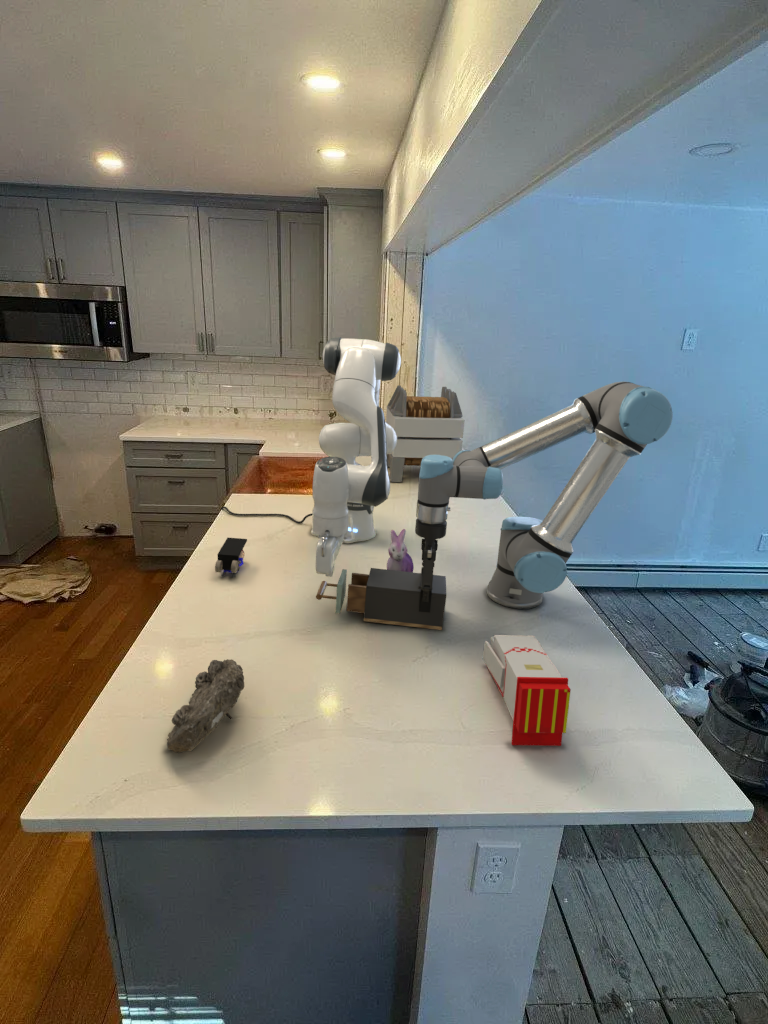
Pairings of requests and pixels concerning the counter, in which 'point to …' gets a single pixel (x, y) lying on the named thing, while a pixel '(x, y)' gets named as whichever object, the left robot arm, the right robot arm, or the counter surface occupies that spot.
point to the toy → (529, 689)
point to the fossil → (206, 705)
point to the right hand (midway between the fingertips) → (424, 600)
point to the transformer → (423, 428)
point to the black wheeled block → (230, 556)
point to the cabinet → (403, 599)
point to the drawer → (354, 592)
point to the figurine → (399, 554)
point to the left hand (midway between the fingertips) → (329, 574)
